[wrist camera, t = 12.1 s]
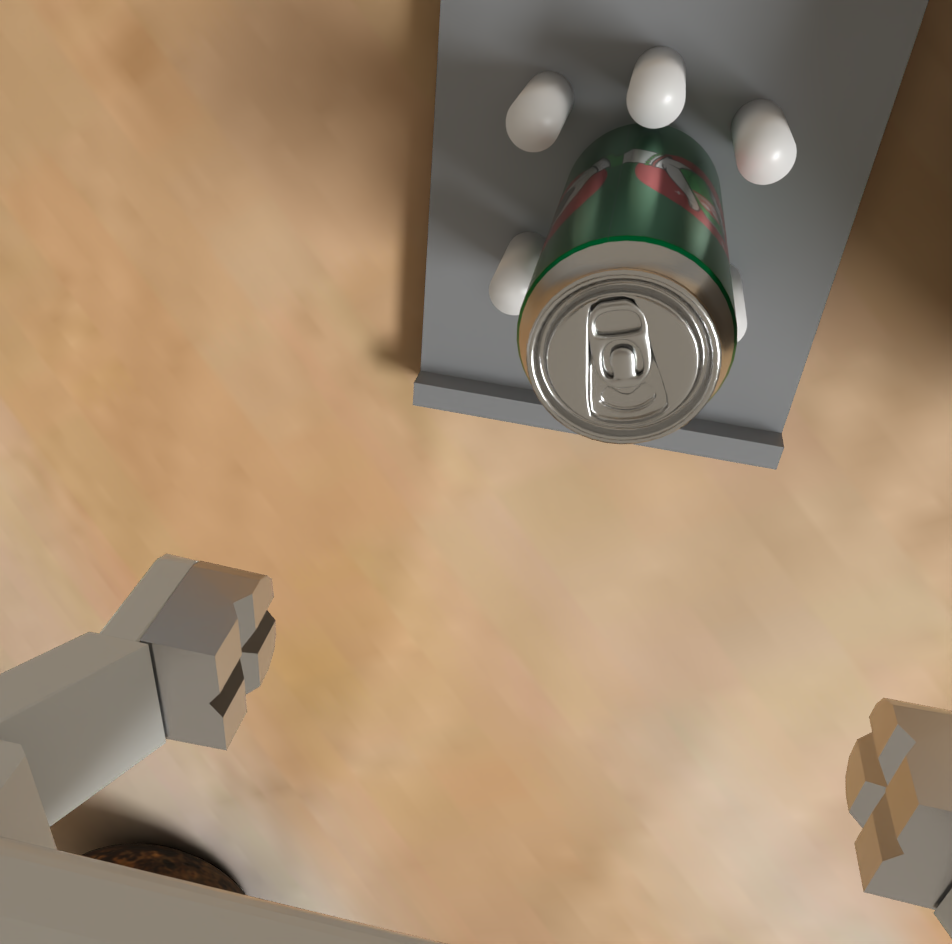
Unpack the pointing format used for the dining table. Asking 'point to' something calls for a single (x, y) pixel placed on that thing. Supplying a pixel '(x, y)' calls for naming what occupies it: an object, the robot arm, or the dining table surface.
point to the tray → (757, 217)
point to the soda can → (632, 290)
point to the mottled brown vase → (166, 864)
